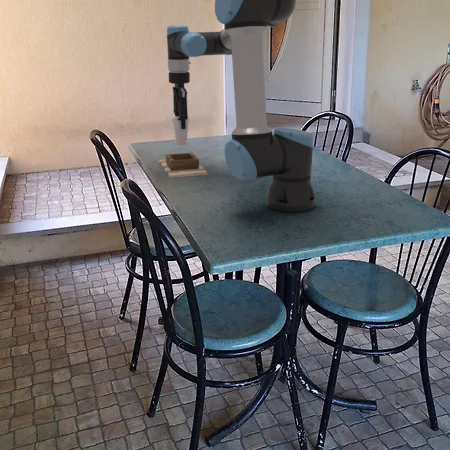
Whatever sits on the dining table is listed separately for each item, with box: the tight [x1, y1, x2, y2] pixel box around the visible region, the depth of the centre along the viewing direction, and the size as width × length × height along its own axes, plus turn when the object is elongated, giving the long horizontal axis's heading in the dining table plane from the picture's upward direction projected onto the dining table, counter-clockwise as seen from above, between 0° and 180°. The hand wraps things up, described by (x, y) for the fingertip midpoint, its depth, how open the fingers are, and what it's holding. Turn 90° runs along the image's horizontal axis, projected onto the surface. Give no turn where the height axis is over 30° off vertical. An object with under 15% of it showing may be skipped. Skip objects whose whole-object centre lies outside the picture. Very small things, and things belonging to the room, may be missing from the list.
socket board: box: [159, 152, 208, 179], centre depth 201 cm, size 22×14×4 cm, turn 16°
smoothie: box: [171, 116, 190, 146], centre depth 195 cm, size 6×6×14 cm
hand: (181, 135), depth 197 cm, fingers closed on smoothie, 6 cm apart
